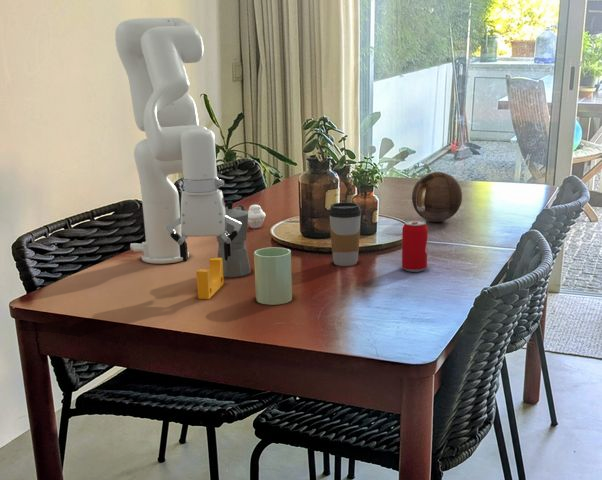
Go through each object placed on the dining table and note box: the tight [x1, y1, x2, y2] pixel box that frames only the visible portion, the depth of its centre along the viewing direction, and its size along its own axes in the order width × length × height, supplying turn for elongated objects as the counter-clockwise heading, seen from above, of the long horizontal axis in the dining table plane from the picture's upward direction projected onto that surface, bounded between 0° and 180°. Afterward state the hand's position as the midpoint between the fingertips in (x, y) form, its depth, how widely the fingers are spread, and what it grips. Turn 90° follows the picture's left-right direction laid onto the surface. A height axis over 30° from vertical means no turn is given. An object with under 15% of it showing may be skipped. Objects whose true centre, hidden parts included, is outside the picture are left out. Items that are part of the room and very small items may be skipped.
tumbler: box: [253, 246, 293, 306], centre depth 194 cm, size 8×8×11 cm
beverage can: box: [401, 219, 429, 273], centre depth 214 cm, size 6×6×12 cm
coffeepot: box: [216, 200, 252, 278], centre depth 215 cm, size 15×9×18 cm, turn 163°
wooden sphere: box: [411, 171, 463, 223], centre depth 261 cm, size 15×15×15 cm
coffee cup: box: [328, 201, 362, 267], centre depth 220 cm, size 8×8×15 cm
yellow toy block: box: [195, 257, 225, 300], centre depth 202 cm, size 12×4×6 cm, turn 168°
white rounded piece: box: [247, 204, 266, 229], centre depth 261 cm, size 6×6×7 cm
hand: (206, 259), depth 200 cm, fingers open, 9 cm apart
